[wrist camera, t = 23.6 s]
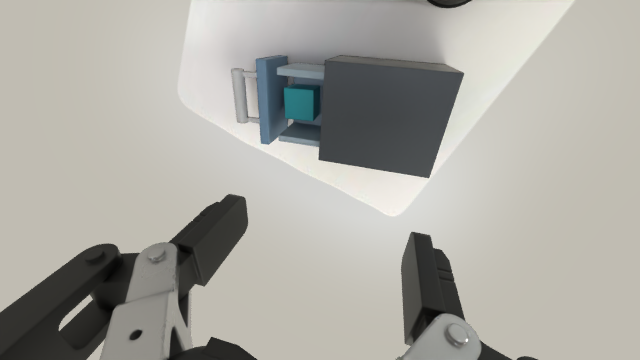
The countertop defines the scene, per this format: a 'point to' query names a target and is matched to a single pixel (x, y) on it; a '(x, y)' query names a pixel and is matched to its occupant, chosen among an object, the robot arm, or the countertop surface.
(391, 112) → the dark grey drawer cabinet
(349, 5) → the countertop surface
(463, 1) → the aerosol can
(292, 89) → the teal cube
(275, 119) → the blue drawer
